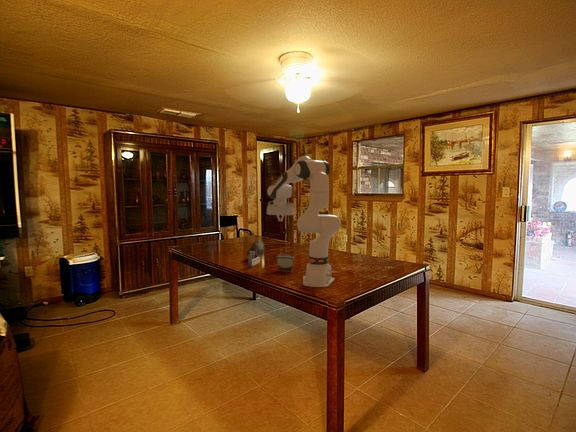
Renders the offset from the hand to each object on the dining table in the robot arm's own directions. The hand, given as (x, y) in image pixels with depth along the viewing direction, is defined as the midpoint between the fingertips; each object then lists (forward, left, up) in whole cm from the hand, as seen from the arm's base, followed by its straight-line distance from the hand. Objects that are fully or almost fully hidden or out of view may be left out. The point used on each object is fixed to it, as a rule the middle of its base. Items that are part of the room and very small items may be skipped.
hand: (280, 221), depth 227 cm
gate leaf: (-12, +15, -30) cm, 36 cm away
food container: (-22, -10, -31) cm, 39 cm away
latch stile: (-7, +20, -31) cm, 37 cm away
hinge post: (-21, +16, -31) cm, 40 cm away
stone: (+7, +22, -31) cm, 39 cm away
